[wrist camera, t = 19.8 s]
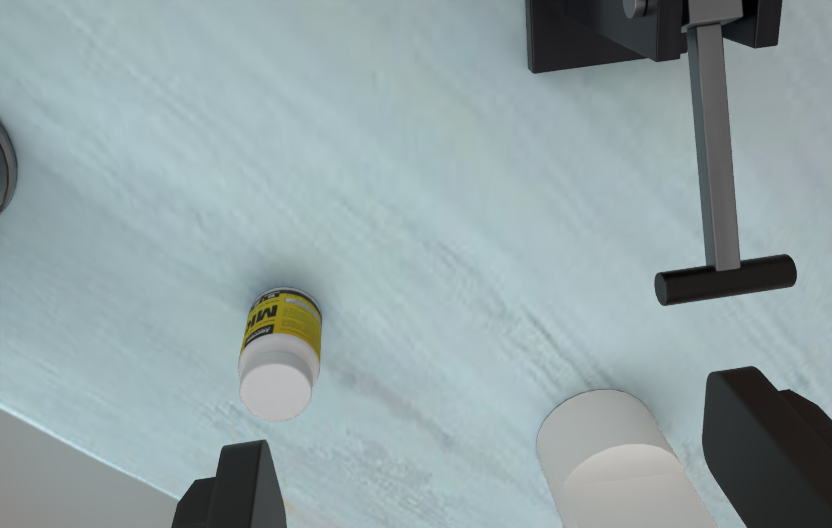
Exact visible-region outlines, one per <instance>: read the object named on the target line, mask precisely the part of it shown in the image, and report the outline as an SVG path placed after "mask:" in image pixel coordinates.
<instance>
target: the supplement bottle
mask: <svg viewBox="0 0 832 528" xmlns="http://www.w3.org/2000/svg"><path fill="white" fill-rule="evenodd" d="M321 329H322V315H321V311H320V308H319V306H318V304H317V303H316V302H315V300H314V299H313V298H312V297H311V296H309V295H308V294H307V293H305V292H303V291H301V290H298V289H295V288H289V287H279V288H274V289H271V290H269V291H266V292H265V293H263V294H262V295H260V296H259V297H258V298H257V299H256V300H255V302H254V303H253V305H252V307H251V309H250V313H249V316H248V321H247V325H246V330H245V335H244V339H243V344H242V348H241V353H240V357H239V362H238V373H239V377H240V398H241V401H242V403H243V405H244V407H245V408H246V409H247V410H248V411H249V412H250V413H251V414H253V415H254V416H256V417H258V418H261V419H263V420H268V421H285V420H289V419H292V418H294V417H296V416H298V415H299V414H300V413H302V412H303V411H304V410H305V409H306V407H307V406H308V404H309V402H310V400H311V396H312V388H313V386H314V385H315V383H316V381H317V379H318V376H319V372H320V349H321Z"/></svg>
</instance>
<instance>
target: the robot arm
mask: <svg viewBox="0 0 832 528" xmlns="http://www.w3.org/2000/svg"><path fill="white" fill-rule="evenodd" d="M16 180H17V166H16V159H15V155H14V151H13V148H12V146H11V143H10V141H9V139H8V137H7V135H6V133H5V131H4V129H3V128H2V126H1V125H0V214H1V213H2V212H3V211H4V210H5V208H6V207H7V206H8V204H9V202H10V200H11V198H12V196H13V193H14V190H15V186H16ZM702 446H703V452H704V456H705V460H706V463H707V465H708V468H709V470H710V472H711V473H712V475H713V477H714V478H715V480H716V481H717V483H718V484H719V486H720V487H721V489H722V490H723V492H724V493H725V495H726V496H727V498H728V499H729V501H730V502H731V504H732V505H733V507H734V508H735V510H736V512H737V513H738V515H739V516H740V518H741V519H742V521H743V522H744V524H745V525H746V527H747V528H832V420H831V419H830V418H829V417H828V415H827V414H826V413H825V412H824V411H823V410H822V409H821V408H820V407H819V406H818V405H816V404H815V403H813V402H811V401H809V400H807V399H806V398H804V397H802V396H800V395H799V394H797V393H795V392H793V391H791V390H790V389H788V390H782V391H778V390H777V389H776V388H775V387H774V386H773V385H772V383H771V382H770V381H769V380H768V379H767V378H766V377H765V376H764V375H763V374H762V372H761V371H760V370H759V369H757V368H756V367H753V366H749V367H742V368H736V369H729V370H723V371H716V372H712V373H710V374H709V376H708V378H707V383H706V395H705V407H704V420H703V433H702ZM171 528H287V525H286V514H285V508H284V503H283V499H282V495H281V491H280V487H279V483H278V480H277V476H276V472H275V468H274V464H273V460H272V456H271V453H270V449H269V446H268V443H267V441H266V440H258V441H252V442H245V443H239V444H232V445H226V446H223V447H222V450H221V453H220V458H219V463H218V468H217V472H216V477H211V478H205V479H199V480H195V481H194V482H193V484H192V485H191V486H190V488H189V489H188V491H187V492H186V493H185V495H184V496H183V497H182V499H181V500H180V501H179V503H178V504H177V508H176V512H175V516H174V520H173V523H172V527H171Z"/></svg>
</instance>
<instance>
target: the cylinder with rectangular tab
mask: <svg viewBox="0 0 832 528" xmlns="http://www.w3.org/2000/svg"><path fill="white" fill-rule="evenodd" d="M536 449H537V455H538V459H539V462H540V465H541V467H542V470H543V473H544V476H545V478H546V481H547V484H548V487H549V489H550V492H551V495H552V497H553V500H554V503H555V506H556V508H557V511H558V514H559V517H560V519H561V522H562V525H563V528H719V526H718V525H717V523H716V521H715V520H714V518H713V517H712V515H711V513H710V512H709V510H708V508H707V507H706V505H705V504H704V502H703V500H702V499H701V497H700V495H699V494H698V492H697V491H696V489H695V487H694V486H693V484H692V482H691V481H690V479H689V478H688V476H687V474H686V473H685V471H684V469H683V466H682V464H681V462H680V461H679V459H678V457H677V456H676V454H675V452H674V451H673V449H672V448H671V446H670V444H669V443H668V441H667V440H666V438H665V436H664V435H663V433H662V431H661V430H660V428H659V427H658V425H657V423H656V422H655V420H654V418H653V417H652V415H651V414H650V412H649V410H648V409H647V408H646V407H645V406H644V404H643V403H642V402H641V401H640V400H639V399H637V398H635V397H633V396H631V395H630V394H628V393H625V392H620V391H616V390H594V391H590V392H586V393H581V394H579V395H577V396H575V397H573V398H570V399H568V400H566V401H565V402H563V403H562V404H561V405H559V406H558V407H557V408H555V409H554V410H553V411H552V412H551V414H550V415H549V416H548V417H547V418H546V419H545V421H544V422H543V424H542V426H541V428H540V430H539V432H538V437H537V443H536Z"/></svg>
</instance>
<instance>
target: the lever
mask: <svg viewBox="0 0 832 528" xmlns="http://www.w3.org/2000/svg"><path fill="white" fill-rule="evenodd" d="M741 17H743V4H742V0H683V7H682V28H681V33H684V32H686V33H687V45H688V57H689V69H690V80H691V92H692V104H693V115H694V127H695V139H696V151H697V162H698V174H699V186H700V197H701V209H702V221H703V233H704V244H705V256H706V266H700V267H694V268H687V269H680V270H673V271H667V272H660V273H657V274H656V276H655V292H656V296H657V299H658V301H659V302H660V304H661V305H663V306H668V305H674V304H681V303H688V302H694V301H701V300H708V299H714V298H721V297H728V296H735V295H741V294H748V293H755V292H761V291H768V290H775V289H781V288H788V287H792V286H793V285H794V284H795V282H796V279H797V271H796V266H795V263H794V261H793V260H792V258H791V257H790V256H789V255H786V254H782V255H775V256H768V257H761V258H755V259H748V260H741V261H740V252H739V239H738V226H737V214H736V201H735V188H734V176H733V163H732V150H731V138H730V125H729V112H728V100H727V87H726V74H725V62H724V49H723V36H722V25H724V24H727V23H729V22H732V21H734V20H737V19H739V18H741Z"/></svg>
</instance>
